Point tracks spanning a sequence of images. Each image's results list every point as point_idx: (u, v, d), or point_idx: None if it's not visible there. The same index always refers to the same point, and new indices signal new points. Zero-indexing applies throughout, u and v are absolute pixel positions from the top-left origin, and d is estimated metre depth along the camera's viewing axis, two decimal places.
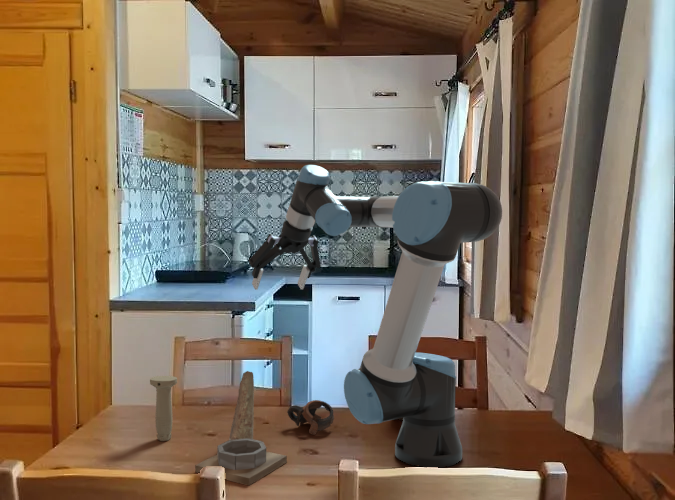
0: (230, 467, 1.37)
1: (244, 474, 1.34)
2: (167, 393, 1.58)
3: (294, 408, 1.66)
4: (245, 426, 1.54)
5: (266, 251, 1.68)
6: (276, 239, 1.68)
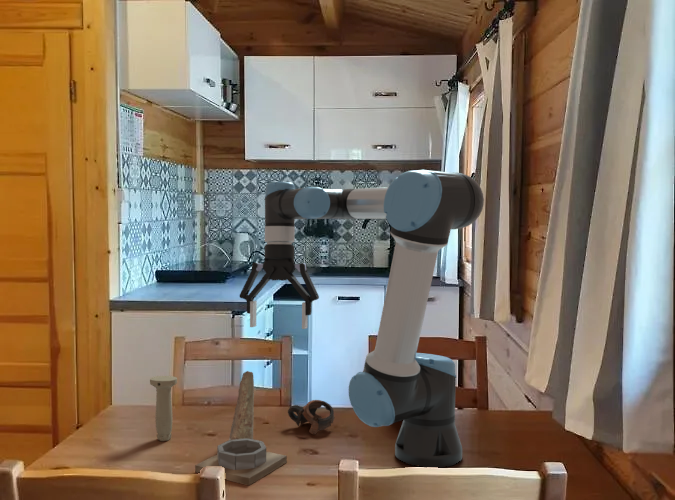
0: (230, 467, 1.37)
1: (244, 474, 1.34)
2: (167, 393, 1.58)
3: (294, 408, 1.67)
4: (245, 426, 1.54)
5: (250, 277, 1.66)
6: (259, 264, 1.67)
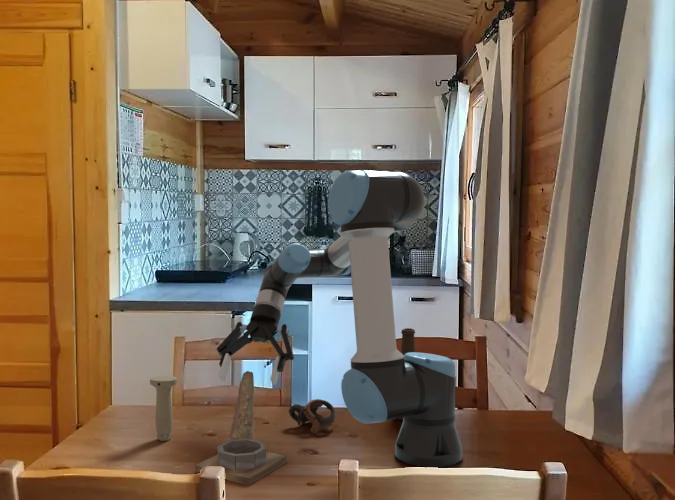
0: (230, 467, 1.37)
1: (244, 474, 1.34)
2: (167, 393, 1.58)
3: (295, 407, 1.67)
4: (245, 426, 1.54)
5: (232, 333, 1.71)
6: (244, 325, 1.73)
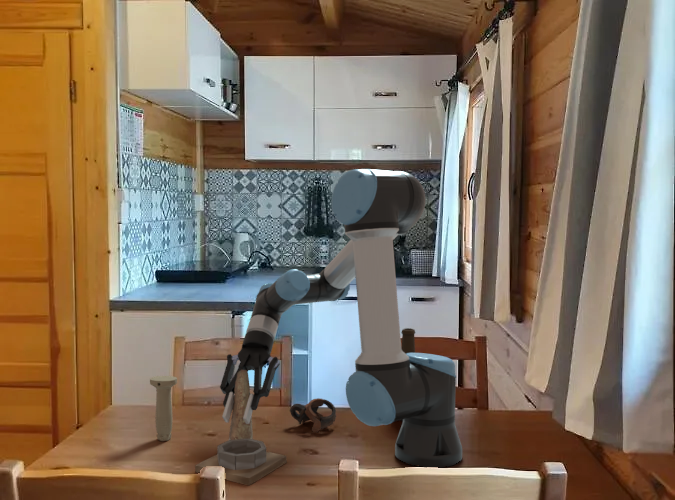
0: (230, 467, 1.37)
1: (244, 474, 1.34)
2: (167, 393, 1.58)
3: (297, 406, 1.68)
4: (244, 425, 1.54)
5: (227, 368, 1.62)
6: (234, 356, 1.65)
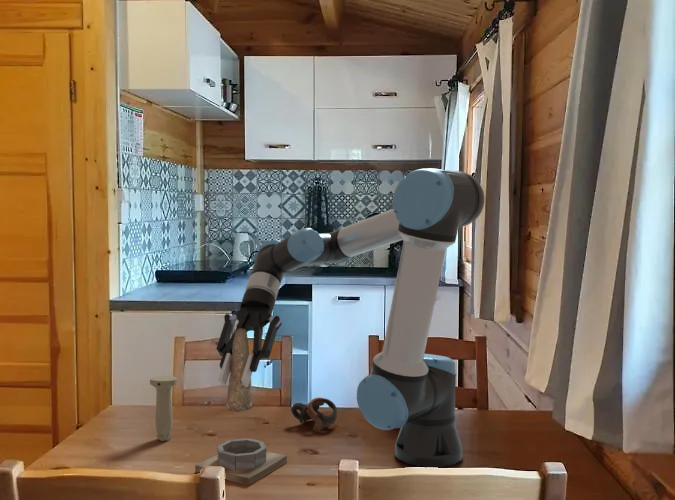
0: (230, 467, 1.37)
1: (244, 474, 1.34)
2: (167, 393, 1.58)
3: (298, 406, 1.69)
4: (242, 388, 1.41)
5: (225, 328, 1.48)
6: (232, 316, 1.51)
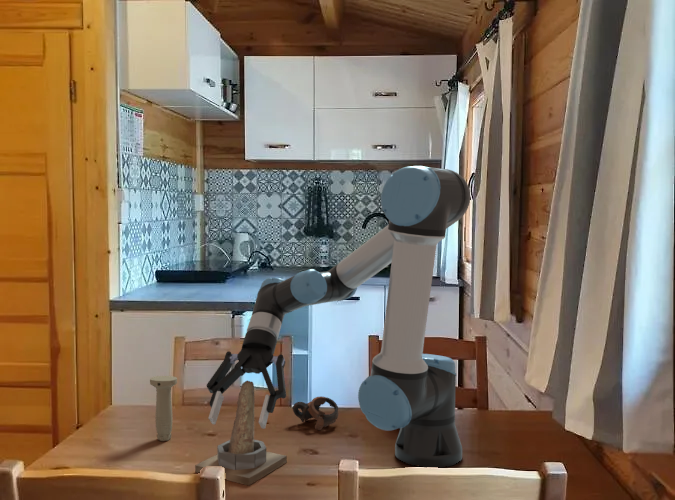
0: (230, 467, 1.37)
1: (244, 474, 1.34)
2: (167, 393, 1.58)
3: (299, 404, 1.70)
4: (245, 442, 1.39)
5: (222, 366, 1.48)
6: (234, 355, 1.50)
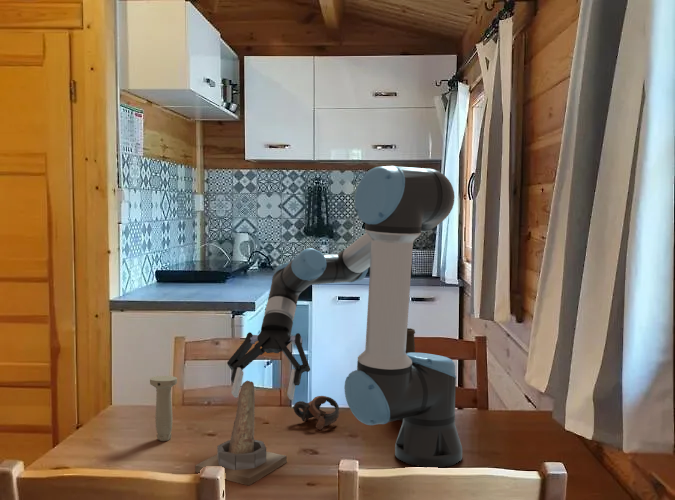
0: (230, 467, 1.37)
1: (244, 474, 1.34)
2: (167, 393, 1.58)
3: (300, 404, 1.70)
4: (245, 442, 1.39)
5: (242, 345, 1.61)
6: (254, 336, 1.63)
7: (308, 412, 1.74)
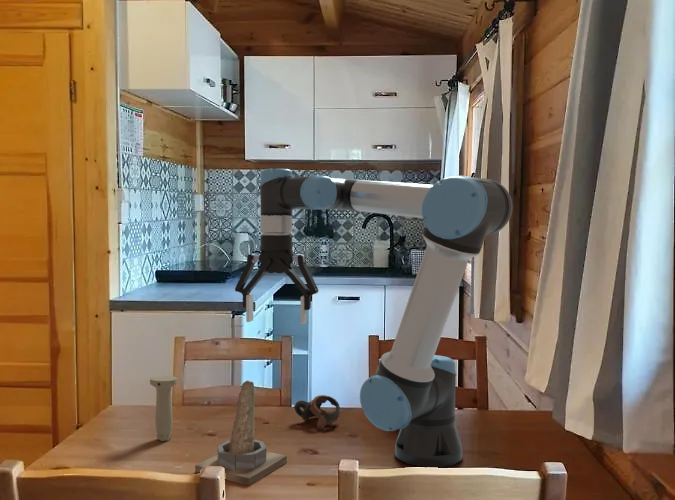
0: (230, 467, 1.37)
1: (244, 474, 1.34)
2: (167, 393, 1.58)
3: (301, 403, 1.71)
4: (245, 442, 1.39)
5: (246, 270, 1.57)
6: (255, 256, 1.58)
7: (309, 411, 1.74)
